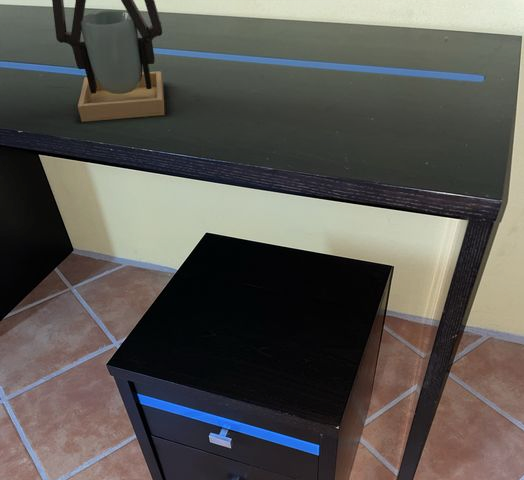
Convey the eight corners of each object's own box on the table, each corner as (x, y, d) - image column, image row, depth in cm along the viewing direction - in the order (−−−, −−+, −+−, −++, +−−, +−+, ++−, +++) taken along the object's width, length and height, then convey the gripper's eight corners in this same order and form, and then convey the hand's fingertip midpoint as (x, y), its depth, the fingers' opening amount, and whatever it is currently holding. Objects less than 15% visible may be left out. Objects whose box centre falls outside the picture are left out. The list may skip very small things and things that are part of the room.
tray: (82, 123, 80) (77, 106, 78) (88, 93, 88) (84, 76, 86) (164, 116, 81) (162, 99, 79) (163, 87, 89) (160, 71, 87)
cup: (155, 84, 84) (144, 12, 77) (128, 101, 79) (114, 27, 72) (115, 78, 86) (100, 8, 79) (87, 95, 81) (68, 22, 74)
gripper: (-8, -93, 63) (51, 102, 79) (165, -101, 65) (188, 91, 81) (4, -101, 68) (57, 84, 84) (164, -108, 70) (185, 75, 86)
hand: (121, 87), depth 83 cm, fingers closed on cup, 8 cm apart
